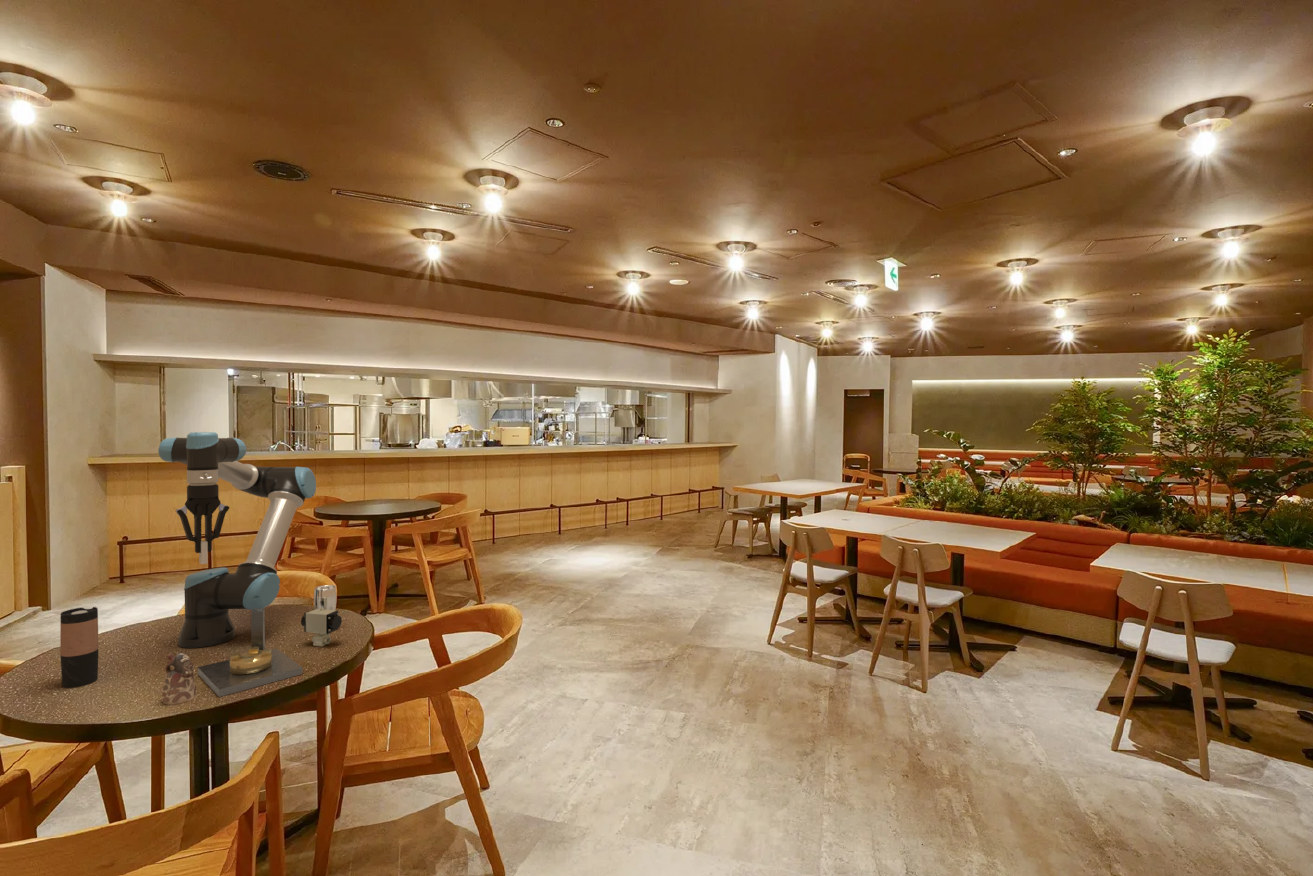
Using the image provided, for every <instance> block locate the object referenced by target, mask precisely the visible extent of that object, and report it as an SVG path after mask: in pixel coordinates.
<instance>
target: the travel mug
mask: <svg viewBox="0 0 1313 876" xmlns="http://www.w3.org/2000/svg"><path fill="white" fill-rule="evenodd" d="M98 614H99V608H98V607H96V606H94V607H92V608H84V607H77V608H71V609H67V610H64V611H62V612H61V613H60V623H59V624H60V627H59V628H60V630H59V631H60V635H59V636H60V642H59V643H60V668H61V669H60V672H61V686H62V688H66V689H67V688H68V689H71V688H72V689H73V688H79V687H83V686H87V685H90V684H93V683H95V682H96V681H97V680H98V677H99V650H100V649H99V644H100V643H99V615H98ZM92 682H93V683H92Z"/></svg>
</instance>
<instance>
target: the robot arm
mask: <svg viewBox="0 0 1313 876" xmlns="http://www.w3.org/2000/svg"><path fill="white" fill-rule="evenodd" d="M157 452H158V456H159V458H160V459H161V460H162V461H164V462H170V463H181V464H184V465H186V483H187V484H188V485H187V486H186V501H185V502H184V505H183V506H182V507H180V508H177V509H175V513H176V514H177V515H178V517H179V518H180V521H181V524H182V527H183V530H184V533H185V537H186V540H188V541H190V542H193V543H194V552H195V553H196V554H198V560H199V561H198V563H199V564H200V565H208V559H209V557H208V555H209V554H208V553H210V552H212V550H213V549H212V547H213V544H212V542H213V540H216V539H218V538H220V535H221V531H222V528H223V524H224V521H225V517H226V513H228V511H229V509H230V506H228V505H227V504H223V503H221V500H220V498H219V497H220V496H219V495H220V493H219V485H218V484H217V483H219V479H220V480H223V481H225V482H228V483H230V485H231V486H232V487H234V488H235V489H237V490H239V491H242V492H245V493H247V494H249V495H253V496H256V497H260V498H264V499H265V498H267V499H268V501H269V505H268V507H267V509H266V512H265V515H264V517H263V520H262V522H261V523H260V527H259V529H258V531H257V533H256V536H255V538H254V541H253V544H252V546H251V547H250V551H249V553H248V555H247V557H246V560H245V561H243V562H241V563H239V564H238V566H237V568H236V570H235V572H230V570H229V569H228V567H216V568H210V569H205V570H200V571H197V572H193V573H190V574H188V575H187V576H186V577H185V579H184V588H183V590H184V622H183V625H182V627H181V630H180V633H179V635H178V638H177V640H178V641H177V642H178V643H177V645H178V646H179V647H180V648H184V649H185V648H186V649H187V648H188V649H197V648H205V647H211V646H215V645H221V644H223V643H226V642H228V641H231V640H233V638H235V636H236V628H235V626H234V623H233V621H232V618H231V617H230V614H229V610H249V611H250V610H251V611H252V610H253V609H262V608H266V607H268V606H270V605H271V604H272V603H273V602H274V601H275V599H276V598H277V596H278V595H279V591H280V587H281V586H280V584H281V579H280V577H279V575H278V570H277V569H276V568H275V566H276V563H277V561H278V558H279V556H280V553H281V550H282V548H283V545H284V543H285V540H286V537H287V535H288V532H289V529H290V527H291V524H292V522H293V518H294V516H295V514H296V511H297V509H299V508H300V507H302V506H303V505H304V503H305V500H306V499H311V498H313V497H314V496H315V494H316V490H317V480H316V477H315V474H314V472H313V471H312V469H310V468H309V467H307V466H306V467H305V466H303V467H302V466H296V467H295V466H257V465H253V464H250V463H242V462H240V460H242V459H243V458H244V457H245V455H246V454H247V446H246V444H245V442H244V441H243V440H241V439H239V438H237V437H219V435H218V433H217V432H214V431H212V432H210V431H200V432H198V431H196V432H195V431H193V432H192V431H191V432H189V433H188V434H187V435H186V437H178V436H177V437H169V438H168V437H167V438H164V439H163V440H162V441H161V442H160V443H159V446H158V451H157ZM187 510H188V511H189V512H190V513H191V514H192V515H193V519H194V520H193V525H194V527H193V528H194V531H193V532H194V533H193V532H192V527H191V524H190V522H189V518H188V516H187V514H188V511H187ZM216 510H218V513H217V516H216V519H215V524H214V528H213V514H214V513H215V512H216ZM202 516H204V539H205V540H202V518H203V517H202Z"/></svg>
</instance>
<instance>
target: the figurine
mask: <svg viewBox="0 0 1313 876" xmlns="http://www.w3.org/2000/svg"><path fill="white" fill-rule="evenodd" d="M166 658H167V659H168V660H169V661H168V662H167V663H166V665H165V672H166V677H165V679H164V684H163V687H162V691H161V692H162V693H161V702H162V704H163V705H169V706H171V705H172V706H173V705H178V704H182V703H185V702H189V701H192V700H194V699H196V697H197V686H196V683H195V676H194V672H193V671H195V666H194V663H192V661H191V658H190V656H189V655H188V654H186V653H185V652H184V653H183V652H179V653H178V654H176V655H173V654H172V653H169V654H167V656H166ZM171 666H173V668H174V669H172V668H171Z"/></svg>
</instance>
